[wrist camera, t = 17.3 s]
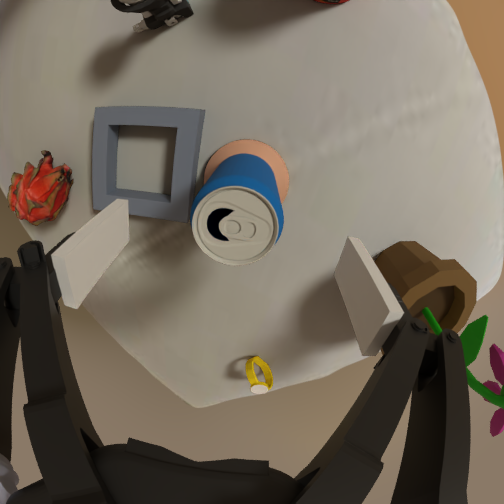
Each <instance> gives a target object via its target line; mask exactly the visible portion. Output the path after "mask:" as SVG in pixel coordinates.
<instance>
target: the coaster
mask: <svg viewBox="0 0 504 504" xmlns="http://www.w3.org/2000/svg"><path fill="white" fill-rule="evenodd" d="M241 153H247V154H252V155H256V156H258V157H260V158H262V159H263V160H264V161H266V162H267V163H268V164H269V166H270V167H271V168H272V170H273V172H274V175H275V179H276V183H277V187H278V192H279V196H280V200H281V204H282V203H283V201H284V199H285V197H286V195H287V192H288V188H289V174H288V170H287V167H286V165H285V163H284V161H283V159H282V157H281V156H280V155H279V154H278V153H277V152H276V151H275V150H274V149H273V148H272V147H270V146H269V145H267V144H265V143H263V142H260V141H256V140H250V139H242V140H236V141H233V142H230V143H228V144H226V145H224V146H223V147H221V148H220V149H219V150H218V151H217V152H216V153H215V154H214V155H213V156H212V157H211V159H210V160H209V162H208V164H207V166H206V169H205V174H204V184H205V183H206V182H207V180H208V179H209V178H210V176H211V175H212V174H213V172H214V171H215V170H216V169H217V167H218V166H219V165H220V164H221V163H222V162H223V161H224V160H225V159H227V158H228V157H230V156H232V155H236V154H241Z"/></svg>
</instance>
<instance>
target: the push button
mask: <svg viewBox="0 0 504 504" xmlns="http://www.w3.org/2000/svg"><path fill="white" fill-rule="evenodd" d="M111 3H112V5H113V6H114V8H116V9H117V10H119V11H122V12H133V13H142V15H143V18H144V19H143V20H141V22H140V23H138V24H136V25H134V26H133V29H134V31H136V30H137V33H139V32H141V31H143V30H145V29H156V28H158V27H160V26H162V25H164V24H167V25H168V26H172V25H174V24H176V23H178V21H177V20H176V19H178V18H180V17H182V16H183V17H189V16H191V15H193V11H192V9H191V7H190V4H189V2H188V0H111ZM125 3H127V4H129V5H130V6H126V5H125ZM172 22H174V23H172ZM170 23H172V24H170ZM137 25H139V27H138V28H136V26H137ZM140 28H142V30H139V29H140Z"/></svg>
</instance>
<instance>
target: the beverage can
mask: <svg viewBox="0 0 504 504" xmlns="http://www.w3.org/2000/svg"><path fill="white" fill-rule="evenodd" d="M190 222H191V227H192V232H193V235H194V238H195V241H196V243H197V244H198V246H199V247H200V249H201V250H202V251H203V252H204V253H205V254H206V255H207V256H209V257H210V258H212V259H213V260H215V261H217V262H220V263H222V264H226V265H232V266H241V265H247V264H251V263H254V262H256V261H258V260H260V259H261V258H263V257H264V256H265V255H267V254H268V253H269V251H270V250H271V249H272V248H273V246H274V245H275V244H276V242H277V241H278V239H279V237H280V235H281V232H282V229H283V224H284V216H283V209H282V205H281V200H280V196H279V192H278V187H277V183H276V179H275V175H274V172H273V170H272V168H271V167H270V166H269V164H268V163H267V162H266V161H264V160H263V159H262V158H260V157H258V156H256V155H252V154H247V153H241V154H236V155H232V156H230V157H228V158H227V159H225V160H224V161H223V162H222V163H221V164H220V165H219V166H218V167H217V169H216V170H215V171H214V172H213V174H212V175H211V176H210V178H209V179H208V180H207V182H206V183H205V184H204V186H203V187H202V188H201V190H200V191H199V192H198V194H197V195H196V197H195V199H194V201H193V204H192V207H191V212H190Z"/></svg>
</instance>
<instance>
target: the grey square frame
mask: <svg viewBox="0 0 504 504" xmlns="http://www.w3.org/2000/svg"><path fill="white" fill-rule="evenodd" d="M204 116H205V110H201V109H189V108H174V107H151V106H117V107H95V116H94V129H93V150H92V190H93V209H96V210H103V209H105V208H106V207H107V206H108V205H110V204H111V203H112V202H114V201H115V200H116V199H124V200H128V214H131V215H138V216H145V217H151V218H158V219H164V220H171V221H177V222H184V223H187V222H188V221H189V219H190V212H191V207H192V204H193V201H194V192H195V183H196V174H197V166H198V158H199V150H200V143H201V136H202V129H203V122H204ZM119 125H145V126H164V127H178V129H177V137H176V146H175V155H174V165H173V176H172V188H171V195H167V194H159V193H151V192H143V191H135V190H126V189H117V188H116V168H117V145H118V131H119Z"/></svg>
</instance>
